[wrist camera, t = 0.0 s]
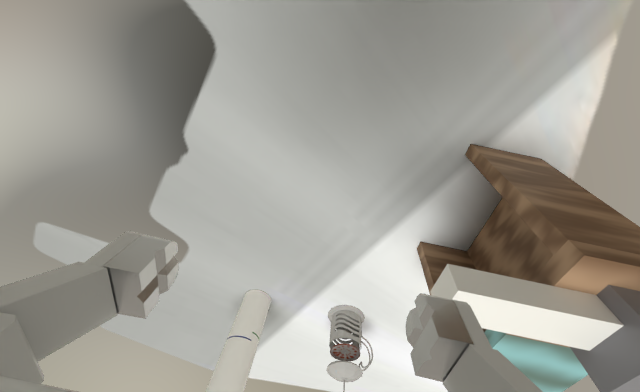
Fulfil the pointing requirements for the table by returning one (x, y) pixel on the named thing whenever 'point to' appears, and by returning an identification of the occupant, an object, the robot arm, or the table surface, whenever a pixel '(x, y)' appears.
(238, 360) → the cylindrical container
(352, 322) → the french press
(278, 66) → the table surface
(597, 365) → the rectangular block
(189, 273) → the table surface
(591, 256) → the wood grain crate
